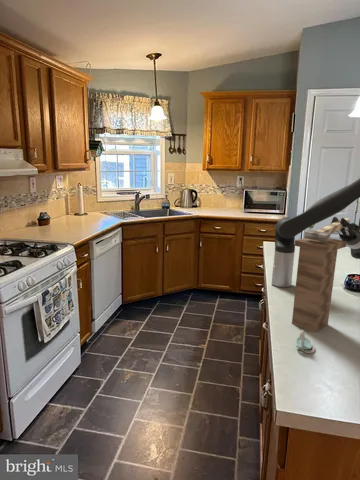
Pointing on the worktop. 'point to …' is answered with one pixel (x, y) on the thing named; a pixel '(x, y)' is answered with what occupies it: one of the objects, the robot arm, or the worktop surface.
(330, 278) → the stand
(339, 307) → the worktop surface
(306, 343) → the pacifier
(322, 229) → the beige block
